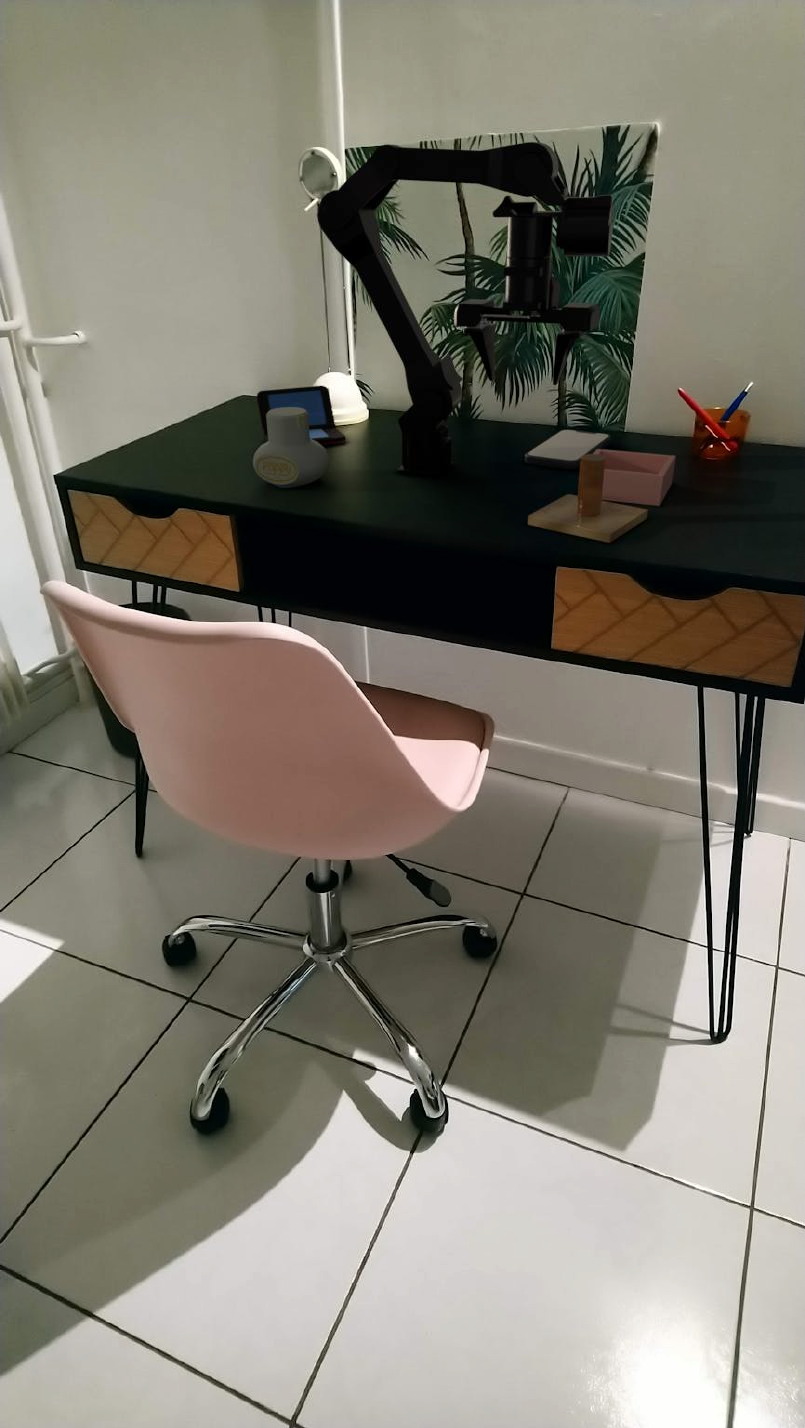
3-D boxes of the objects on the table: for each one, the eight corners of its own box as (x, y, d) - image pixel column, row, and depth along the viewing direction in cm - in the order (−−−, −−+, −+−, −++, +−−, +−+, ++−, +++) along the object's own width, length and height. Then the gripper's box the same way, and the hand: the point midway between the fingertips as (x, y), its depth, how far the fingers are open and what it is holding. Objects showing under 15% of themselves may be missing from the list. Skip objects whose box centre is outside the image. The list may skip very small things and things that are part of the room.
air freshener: (245, 485, 129) (237, 415, 124) (275, 470, 135) (268, 402, 130) (311, 494, 125) (306, 421, 120) (339, 477, 132) (334, 407, 126)
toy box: (577, 497, 122) (579, 468, 119) (594, 476, 129) (597, 448, 127) (659, 506, 118) (663, 476, 116) (671, 484, 125) (675, 455, 123)
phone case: (576, 473, 132) (613, 444, 143) (576, 462, 131) (614, 434, 142) (521, 465, 136) (561, 438, 147) (521, 454, 135) (562, 428, 146)
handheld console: (273, 452, 144) (268, 404, 140) (259, 436, 153) (254, 391, 149) (347, 443, 147) (345, 396, 144) (330, 428, 156) (327, 384, 152)
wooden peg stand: (527, 524, 113) (531, 460, 109) (567, 502, 120) (572, 440, 115) (609, 543, 107) (616, 475, 103) (646, 518, 114) (655, 454, 109)
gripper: (614, 251, 119) (603, 375, 127) (481, 250, 125) (479, 367, 133) (594, 260, 110) (584, 391, 118) (453, 258, 116) (452, 382, 125)
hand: (523, 382), depth 124 cm, fingers open, 9 cm apart
